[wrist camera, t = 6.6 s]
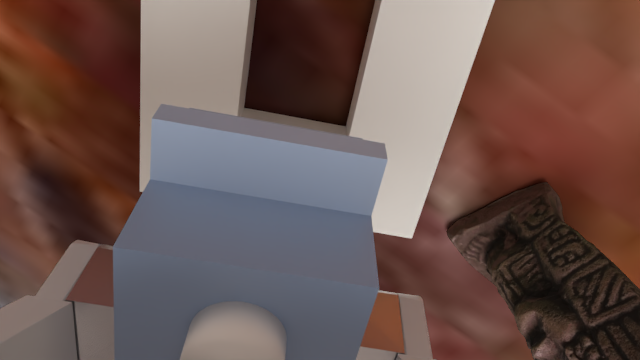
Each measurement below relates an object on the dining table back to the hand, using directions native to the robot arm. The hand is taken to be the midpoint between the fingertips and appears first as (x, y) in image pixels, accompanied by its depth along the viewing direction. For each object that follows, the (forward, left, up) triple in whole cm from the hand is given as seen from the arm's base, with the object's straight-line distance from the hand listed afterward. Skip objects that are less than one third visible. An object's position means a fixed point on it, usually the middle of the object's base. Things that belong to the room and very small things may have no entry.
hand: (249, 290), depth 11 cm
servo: (-1, 0, -3) cm, 3 cm away
